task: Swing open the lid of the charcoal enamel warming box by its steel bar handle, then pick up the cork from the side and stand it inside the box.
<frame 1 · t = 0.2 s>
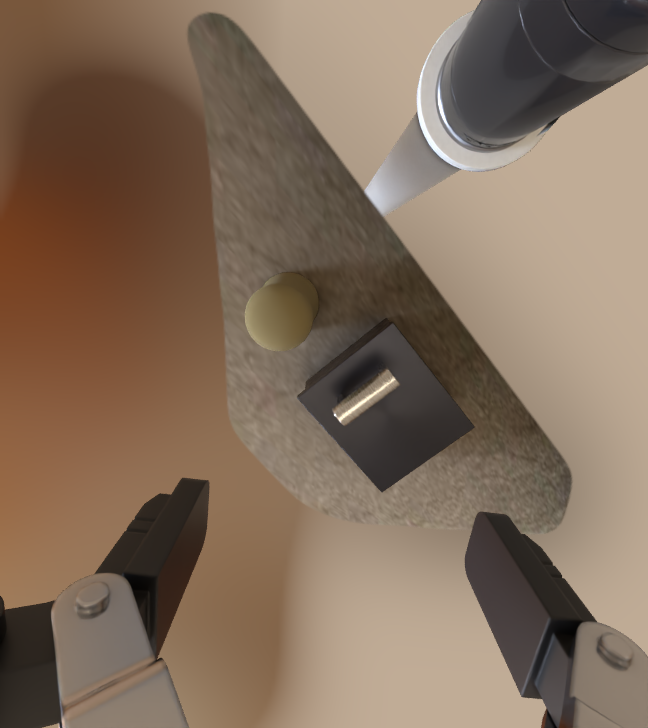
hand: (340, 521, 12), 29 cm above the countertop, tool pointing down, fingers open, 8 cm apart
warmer: (379, 391, 41), on the countertop
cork: (288, 302, 39), on the countertop
warmer lid: (390, 421, 33), point 8 cm above the countertop, hinge at 0.0°
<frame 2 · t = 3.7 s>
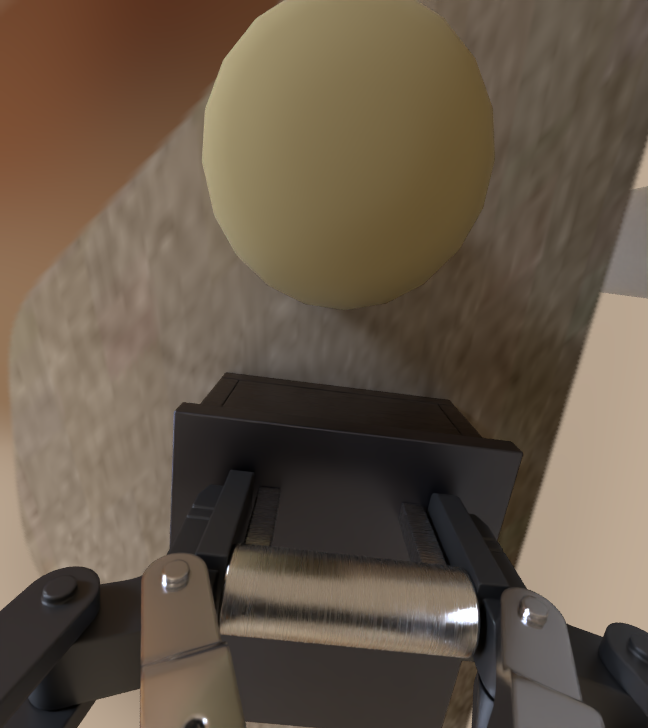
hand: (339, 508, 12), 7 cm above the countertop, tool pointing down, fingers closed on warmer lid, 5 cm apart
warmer: (322, 493, 20), on the countertop
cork: (332, 217, 16), on the countertop
warmer lid: (325, 649, 12), point 8 cm above the countertop, hinge at 0.0°, touching gripper
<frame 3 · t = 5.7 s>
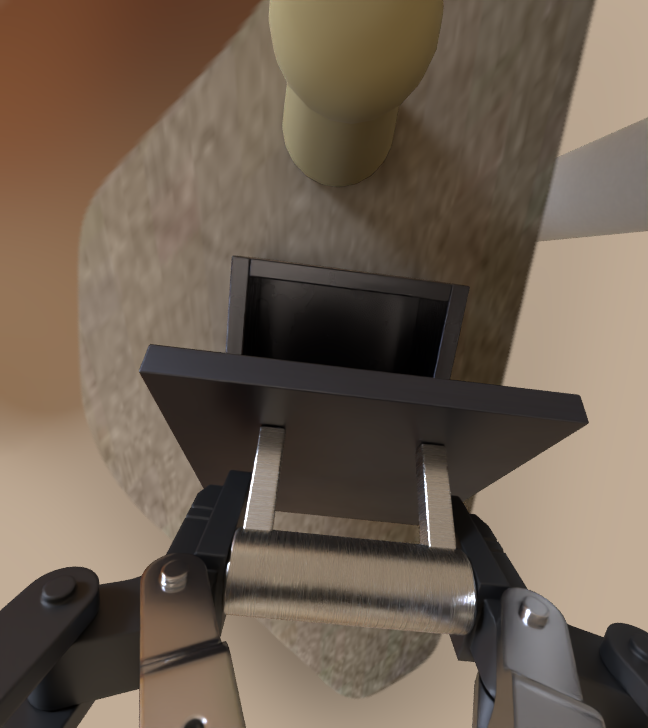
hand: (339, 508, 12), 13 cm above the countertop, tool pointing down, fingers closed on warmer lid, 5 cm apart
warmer: (331, 364, 24), on the countertop
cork: (338, 127, 21), on the countertop
warmer lid: (332, 531, 13), point 12 cm above the countertop, hinge at 42.4°, touching gripper
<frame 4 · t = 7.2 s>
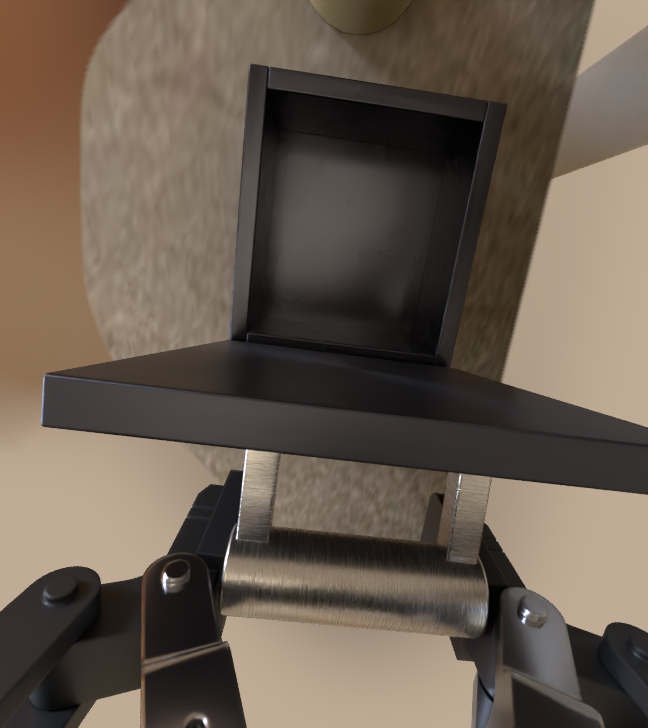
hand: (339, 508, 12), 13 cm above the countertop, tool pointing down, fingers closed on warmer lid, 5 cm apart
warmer: (348, 240, 23), on the countertop
warmer lid: (346, 451, 12), point 13 cm above the countertop, hinge at 81.2°, touching gripper
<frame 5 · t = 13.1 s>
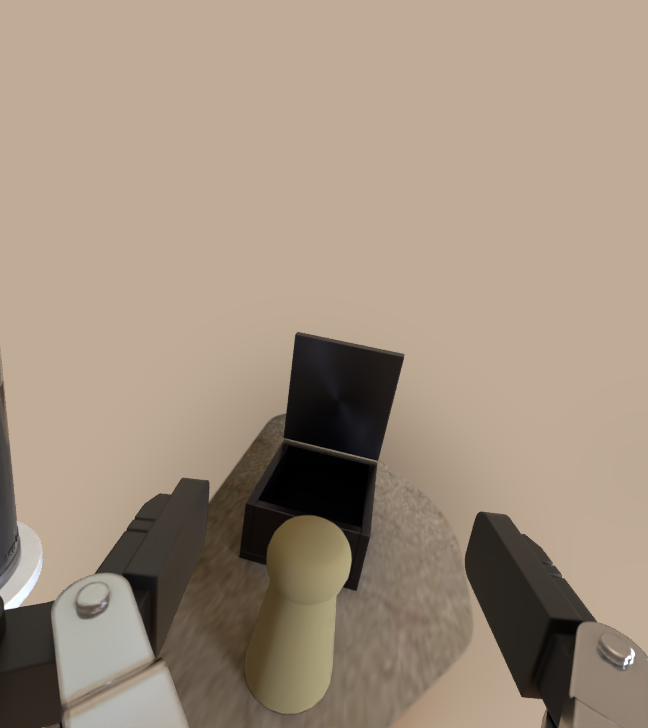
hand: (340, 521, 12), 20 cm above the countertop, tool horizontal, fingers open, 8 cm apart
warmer: (310, 528, 39), on the countertop
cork: (288, 664, 27), on the countertop
warmer lid: (342, 389, 42), point 13 cm above the countertop, hinge at 82.2°
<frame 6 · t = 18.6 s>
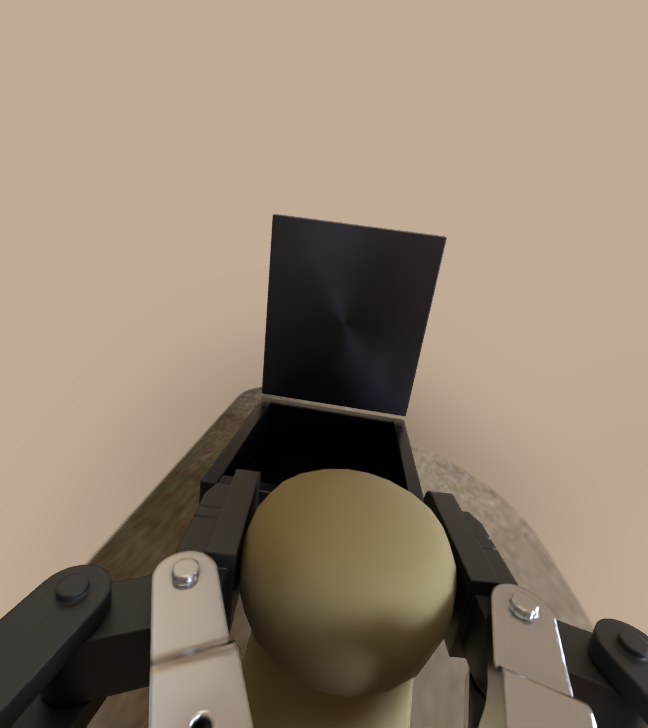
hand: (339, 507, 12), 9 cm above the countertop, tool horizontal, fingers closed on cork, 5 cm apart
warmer: (313, 525, 25), on the countertop
warmer lid: (346, 313, 28), point 13 cm above the countertop, hinge at 82.2°
when the fingers open (10 cm above the countertop, at t = 25.2 s): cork stays where it is, resting on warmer.
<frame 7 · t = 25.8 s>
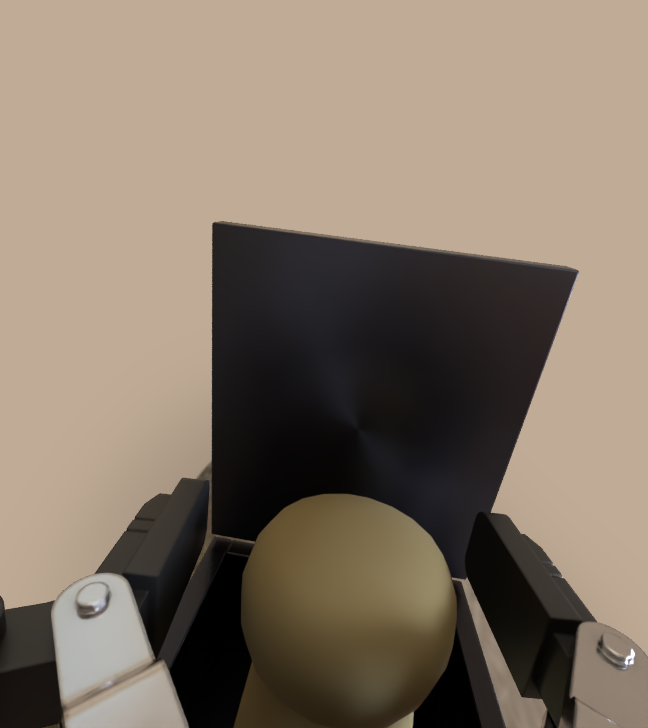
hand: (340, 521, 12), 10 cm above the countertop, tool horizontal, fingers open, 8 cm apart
warmer lid: (360, 395, 16), point 13 cm above the countertop, hinge at 82.2°
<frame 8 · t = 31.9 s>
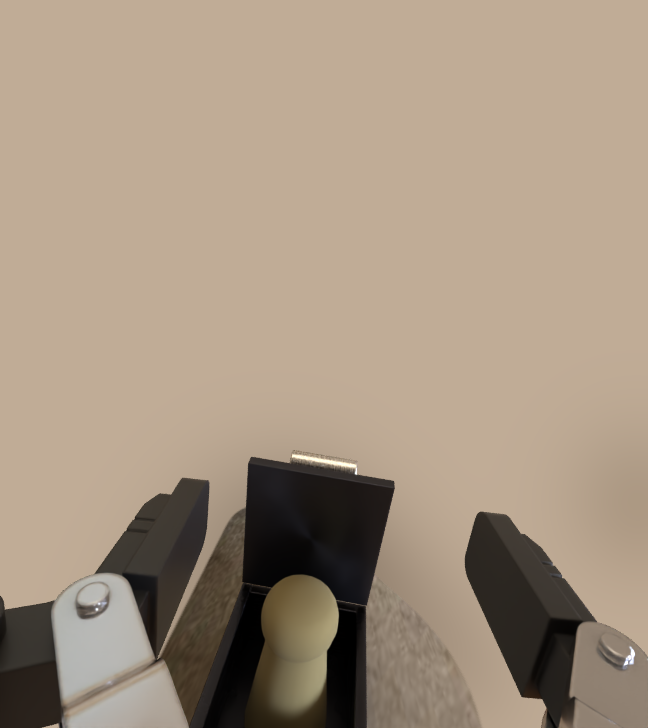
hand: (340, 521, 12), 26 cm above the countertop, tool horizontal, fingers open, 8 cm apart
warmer: (283, 720, 29), on the countertop
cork: (285, 716, 29), point 1 cm above the countertop, touching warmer
warmer lid: (316, 514, 33), point 13 cm above the countertop, hinge at 82.2°
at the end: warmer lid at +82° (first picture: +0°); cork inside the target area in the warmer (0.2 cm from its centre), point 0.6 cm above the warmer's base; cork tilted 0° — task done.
